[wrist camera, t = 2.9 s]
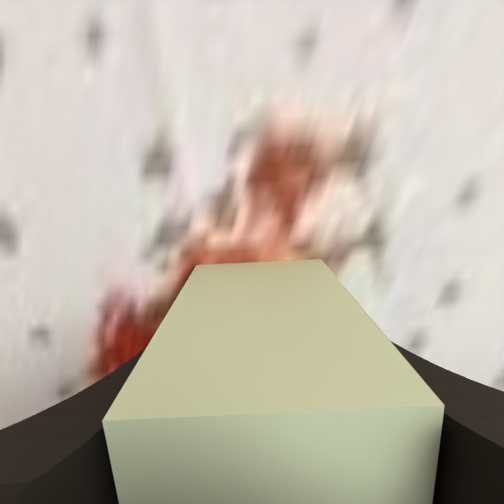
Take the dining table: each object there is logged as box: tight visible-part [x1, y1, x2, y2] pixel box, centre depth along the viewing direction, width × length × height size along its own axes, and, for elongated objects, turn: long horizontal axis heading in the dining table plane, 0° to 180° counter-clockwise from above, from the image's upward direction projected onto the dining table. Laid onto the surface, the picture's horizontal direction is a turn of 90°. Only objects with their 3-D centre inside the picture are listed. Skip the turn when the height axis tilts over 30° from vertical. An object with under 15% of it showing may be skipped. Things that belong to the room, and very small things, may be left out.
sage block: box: [102, 259, 445, 504], centre depth 9 cm, size 5×5×8 cm
